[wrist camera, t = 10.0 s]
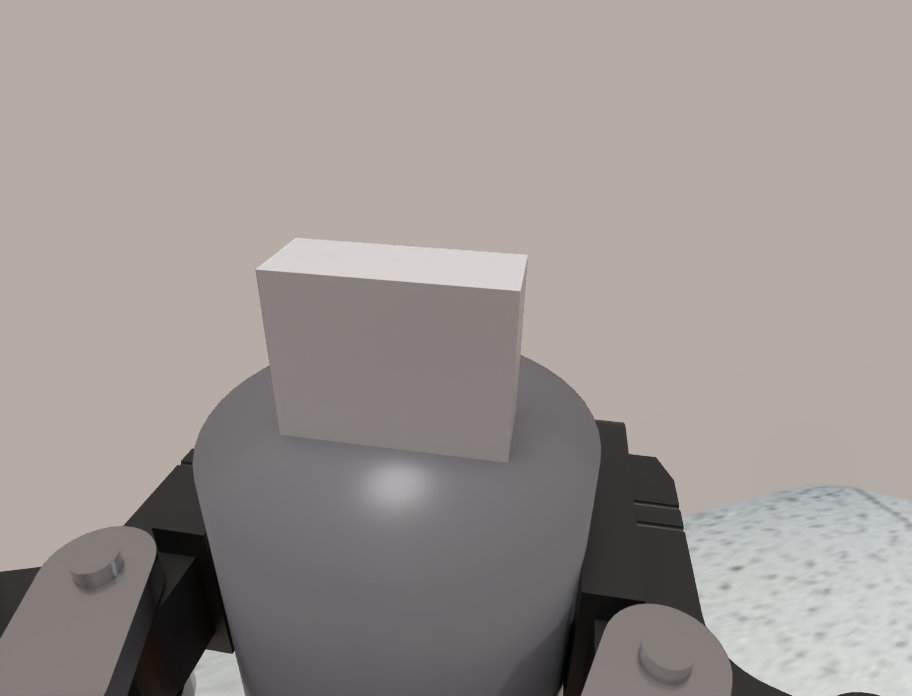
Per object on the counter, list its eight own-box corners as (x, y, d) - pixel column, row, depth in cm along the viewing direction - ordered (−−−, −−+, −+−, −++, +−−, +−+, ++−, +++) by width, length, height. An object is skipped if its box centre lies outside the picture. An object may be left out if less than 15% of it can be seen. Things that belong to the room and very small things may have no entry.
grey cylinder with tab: (235, 936, 10) (21, 344, 5) (335, 665, 14) (279, 193, 9) (532, 1008, 9) (653, 411, 4) (545, 701, 13) (614, 214, 8)
